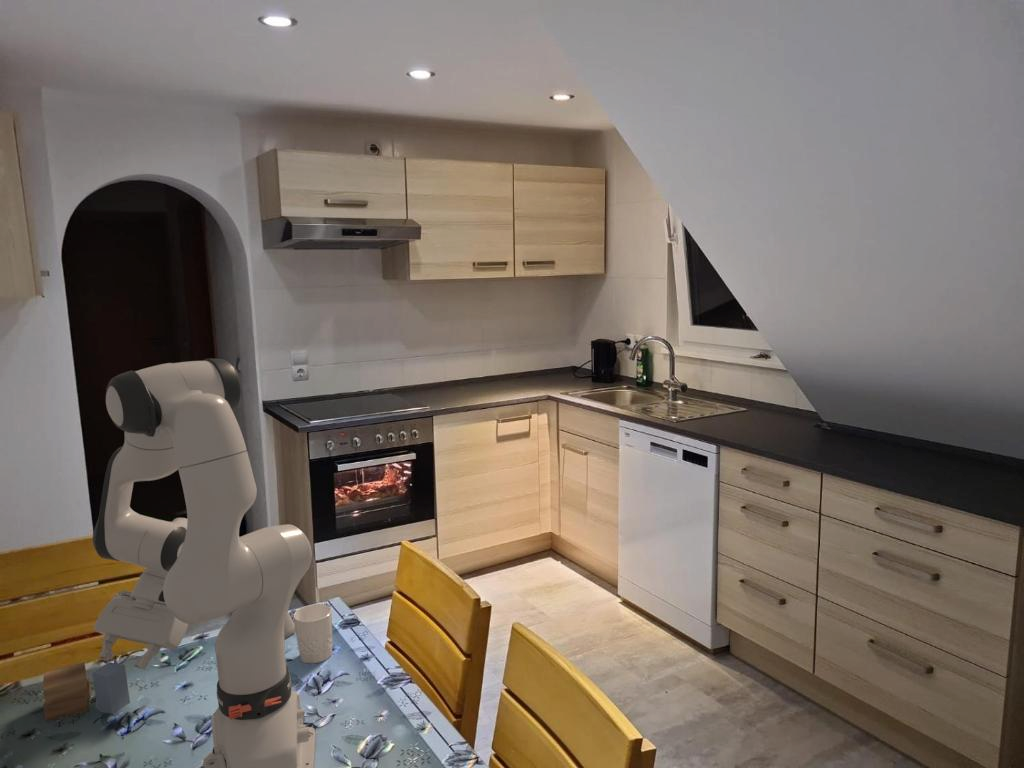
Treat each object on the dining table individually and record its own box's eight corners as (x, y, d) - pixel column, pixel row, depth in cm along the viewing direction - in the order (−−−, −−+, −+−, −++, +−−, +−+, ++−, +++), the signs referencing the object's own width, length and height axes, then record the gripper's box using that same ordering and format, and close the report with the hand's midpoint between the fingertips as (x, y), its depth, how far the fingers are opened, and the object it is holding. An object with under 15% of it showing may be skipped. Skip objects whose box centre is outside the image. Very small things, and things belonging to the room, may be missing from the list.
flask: (286, 642, 169) (282, 600, 167) (257, 640, 170) (253, 598, 168) (301, 626, 176) (298, 586, 174) (273, 624, 177) (269, 584, 175)
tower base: (87, 713, 145) (85, 696, 145) (46, 723, 143) (43, 706, 142) (92, 694, 152) (89, 678, 151) (52, 703, 149) (49, 687, 148)
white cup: (289, 658, 162) (285, 615, 160) (318, 642, 168) (314, 600, 166) (314, 669, 157) (310, 625, 155) (342, 652, 164) (339, 609, 162)
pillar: (130, 702, 148) (124, 665, 146) (112, 714, 144) (107, 676, 143) (115, 698, 149) (109, 661, 148) (97, 710, 146) (91, 672, 144)
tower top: (88, 694, 145) (85, 678, 145) (45, 707, 142) (43, 690, 141) (87, 677, 151) (84, 661, 151) (46, 689, 148) (43, 673, 147)
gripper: (107, 583, 157) (72, 650, 149) (183, 597, 149) (149, 668, 142) (128, 594, 162) (94, 659, 154) (202, 608, 154) (170, 677, 147)
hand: (121, 663), depth 148 cm, fingers open, 8 cm apart
